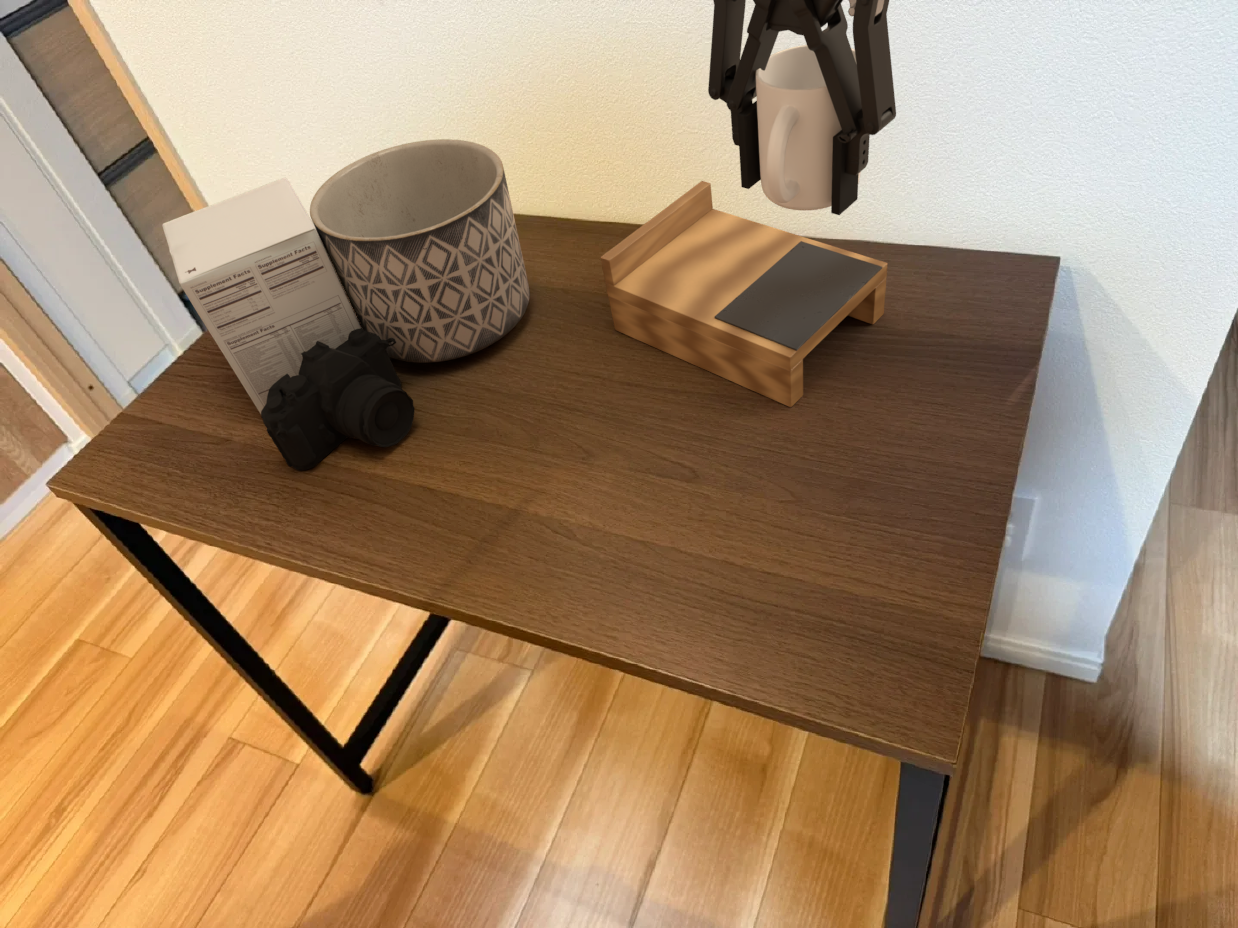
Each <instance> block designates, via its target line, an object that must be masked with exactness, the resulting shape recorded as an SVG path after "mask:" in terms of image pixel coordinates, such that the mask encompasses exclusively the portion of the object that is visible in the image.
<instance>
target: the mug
mask: <svg viewBox="0 0 1238 928" xmlns="http://www.w3.org/2000/svg"><path fill="white" fill-rule="evenodd" d="M851 50H852V53H853V56H854V59H855V62H856V56H855V48H852V47H851ZM856 65H857V64H856ZM755 74H756V95H757V96H756V101H757V116H758V136H759V157H760V176H761V180H760V185H761V189H762V192H763V194H764V195H765V197H766V198H767V199H768V200H769V201H770V202H772V203H773V204H775V205H776V206H778V207H781V208H784V209H788V210H792V211H817V210H823V209H827V208H830V207H831V200H832V153H833V136H835V135H836V134H837V133H838V132H840V131H841V130H842V129H841V126H840V123H839V120H838V117H837V115H836V112H835V109H834V106H833V103H832V100H831V98H830V95H829V92H828V89H827V86H826V83H825V81H824V78H823V75H822V72H821V69H820V66H819V64H818V61H817V58H816V55H815V53H814V51H811V50H810V49H809V48H808V46H807V44H801V45H797V46H796V45H795V46H792V47H788V48H786V49H785V48H784V49H782V50H780V51H777V52H774V53H771V55H770V58H769V60H768V63H767V66H766V69H765V70H761V68H759V69H757V70H756V73H755ZM861 172H862V171H861ZM861 172H860V173H859V176H858V184H859V183H860V179H861Z"/></svg>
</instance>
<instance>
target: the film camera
mask: <svg viewBox="0 0 1238 928" xmlns="http://www.w3.org/2000/svg"><path fill="white" fill-rule="evenodd" d="M391 342H393V343H392V344H391V345H389V343H391ZM395 343H396V341H395V339H394V338H389V339H387V340H381V338H380V337H379V335H377V334H374V333H371V332H367V331H365V330H364V329H362V327H361V328H360V329H355V330H353V331H351V332H350V334H349V336H348V340H347V341H345V342H344V343H343V344H341V345H339V346H338V347H337V348H336V349H333V348H330V347H329V346H328V345H326V344H324V343H322V342H319V341H317V342H316V344H315V345H314V346H313V347H312V348H311V349H309V350H308V351H307V352H305V351H304V352H303V353H301V355H302V357H303V359H302V363H301V366H300V370H299V375H296V376H292V377H290V376H289V375H288V374H286V375H284V376H283V377H281V378H280V379H279V380H278V381H277V382H276V383H274V384H273V385H272V386H271V388H270V389H269V392H268V395H267V401H266V405H265V406H264V408H263V409H262V411H261V414H260V417H261V419H262V422H263V425H264V427H265V428H266V432H267V434H268V436H269V437H270V438H271V440H272V442H273V444H274V445H275V447H276V449H277V450H278V452H279V453H280V454H281V456H282V458H283V459H284V461H285V463H286V464H287V466H288V467H289V468H291V467H292V468H293V469H294V470H296V471H300V472H301V471H308V470H310V469H312V468H314V467H315V466H317V465H318V464H319V463H320V462H321V461H323V460H324V459H325V458H326V457H327V456H328V455H330V453H332V452H333V451H334V450H335V449H336V448H338V446H339V445H340V444H342V443H343V442H344V441H345V440H347V439H348V438H349V439H356V440H360V441H362V442H364V443H365V444H367V445H370V446H375V447H376V446H377V447H380V448H388V447H392V446H396V445H397V444H398V443H401V441H402V440H404V438H405V437H407V435H408V434H409V433H410V431H411V428H412V426H413V423H414V421H415V420H414V419H415V414H416V413H415V411H416V410H415V406H414V400H413V399H412V397H410V395H409V394H408V393H407V392H406V391H405V390H404V389H403V387H402V382H401V380H400V378H399V375H398V373H397V371H396V369H395V367H394V364H393V362H392V360H391V357H389V355H388V353H387V351H386V348H387V347H389V346H393V345H394V344H395Z"/></svg>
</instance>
